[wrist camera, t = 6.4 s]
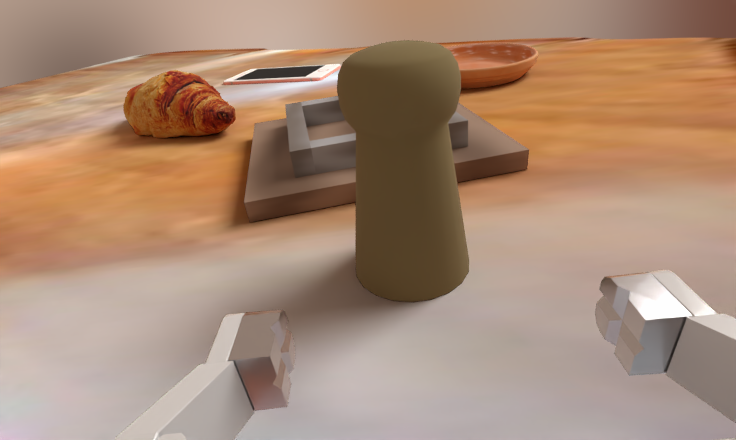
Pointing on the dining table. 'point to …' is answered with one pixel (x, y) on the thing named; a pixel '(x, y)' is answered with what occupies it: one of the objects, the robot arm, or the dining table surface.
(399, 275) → the olive pepper mill
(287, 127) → the square frame holder
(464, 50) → the saucer
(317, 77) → the cell phone
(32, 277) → the dining table surface
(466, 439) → the dining table surface
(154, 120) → the croissant
